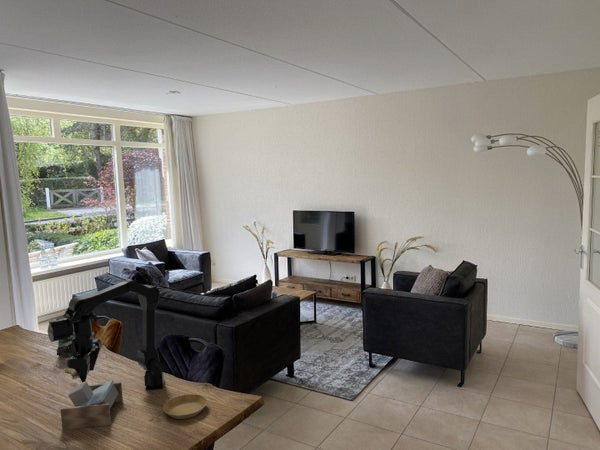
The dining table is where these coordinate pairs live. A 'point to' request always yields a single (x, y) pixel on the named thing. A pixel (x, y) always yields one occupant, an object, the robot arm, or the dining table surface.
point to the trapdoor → (103, 395)
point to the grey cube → (80, 394)
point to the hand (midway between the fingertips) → (87, 376)
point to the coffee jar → (63, 341)
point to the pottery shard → (71, 371)
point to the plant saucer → (185, 406)
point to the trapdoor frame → (89, 412)
